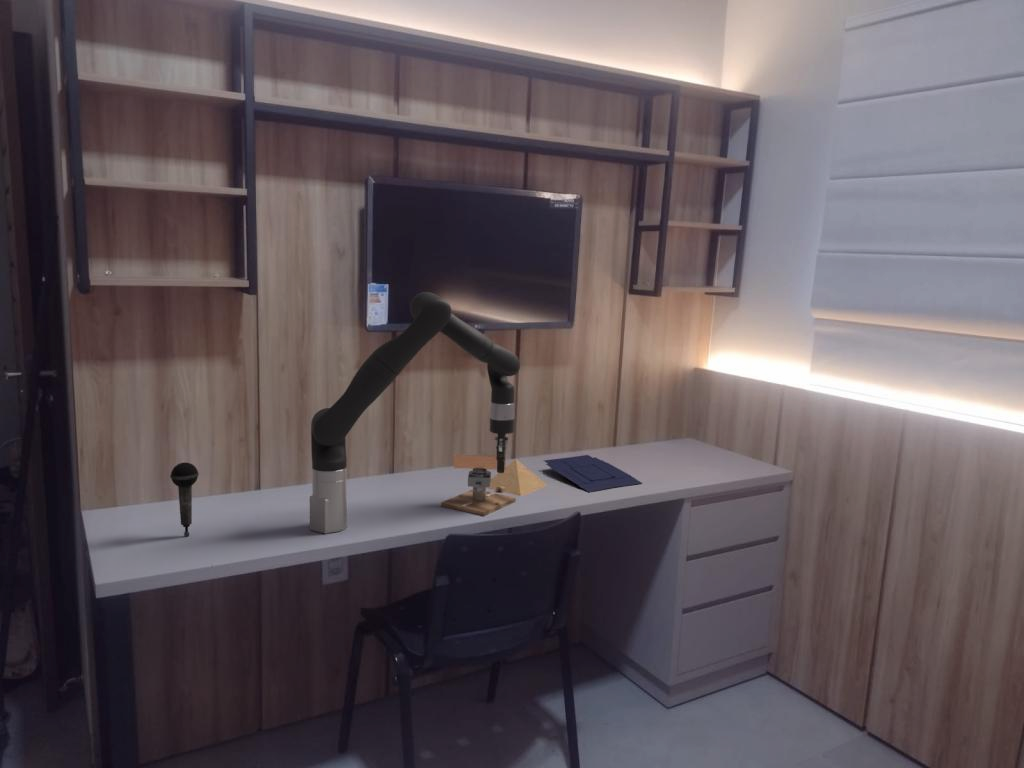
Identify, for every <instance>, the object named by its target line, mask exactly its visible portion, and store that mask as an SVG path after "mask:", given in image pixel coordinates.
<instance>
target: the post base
mask: <svg viewBox="0 0 1024 768" xmlns="http://www.w3.org/2000/svg"><path fill="white" fill-rule="evenodd" d="M486 490H487V488H486V487H481V488H476V487H472V489H471V490H468V491H466V492H463V493H461V494H458V495H456V496H453V497H450V498H449V499H448V498H447V499H446V500H443V501H441V502H440V506H441V507H443V508H448V509H451V510H452V509H454V510H457V511H461V512H466V513H470V514H473V515H480V516H483V517H485V516H487V515H489V514H491V513H494V512H496V511H499V510H500V509H502V508H504V507H506V506H509V505H512V504H513V503H515V502H516V501H517V497H514V496H509V495H505V494H502V493H500V494H499V493H495V492H490V491H486Z"/></svg>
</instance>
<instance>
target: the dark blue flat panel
mask: <svg viewBox="0 0 1024 768" xmlns="http://www.w3.org/2000/svg"><path fill="white" fill-rule="evenodd" d="M543 462H544V463H545V465H546V466H548V467H549V468H550V469H551V470H553V471H554V472H557V473H558V474H560V475H562V477H564V478H566V479H568V480H570V481H571V482H572V483H574V484H575V485H577V486H579V488H582V489H583V490H585V491H586V492H588V493H591V492H596V491H597V492H598V491H602V490H607V489H612V488H619V487H624V486H625V487H626V486H634V485H641V484H642V482H641V481H640V480H638V479H636V478H635V477H634V476H632V475H630V474H629V473H627V472H625V471H623V470H622V469H621V468H617V467H616V466H614V465H613V464H611V463H609V462H606V461H604V460H602V459H599V458H597V457H592V456H591V455H589V454H585V455H577V456H569V457H561V458H552V459H546V460H543Z"/></svg>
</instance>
